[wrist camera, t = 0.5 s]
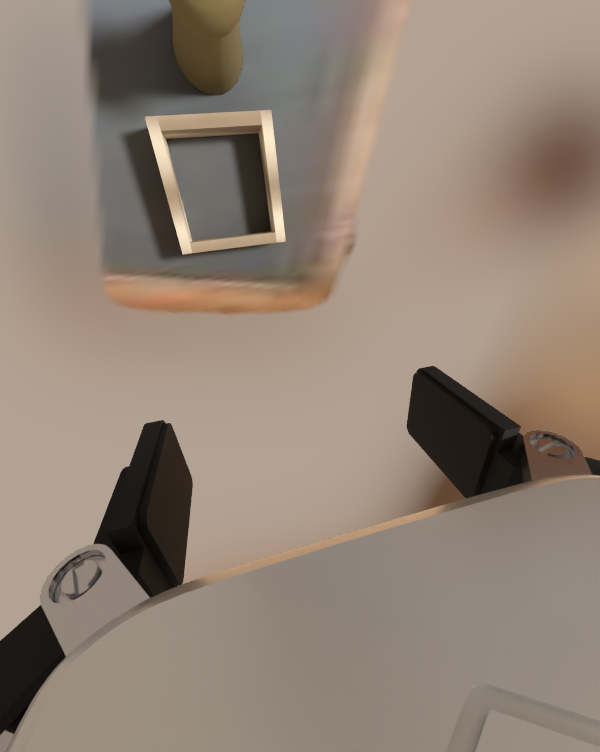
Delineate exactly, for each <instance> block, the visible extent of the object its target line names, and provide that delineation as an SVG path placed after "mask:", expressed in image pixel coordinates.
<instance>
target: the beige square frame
mask: <svg viewBox="0 0 600 752" xmlns="http://www.w3.org/2000/svg"><path fill="white" fill-rule="evenodd" d="M145 119H146V123H147V127H148V130H149V134H150V138H151V141H152V145H153V149H154V152H155V156H156V159H157V163H158V167H159V170H160V174H161V178H162V181H163V185H164V189H165V192H166V196H167V199H168V203H169V207H170V210H171V214H172V218H173V221H174V225H175V229H176V232H177V236H178V239H179V243H180V247H181V250H182V254H190V253H198V252H206V251H214V250H221V249H229V248H237V247H245V246H253V245H261V244H269V243H276V242H284V241H286V240H285V231H284V222H283V213H282V204H281V195H280V186H279V177H278V168H277V159H276V150H275V141H274V131H273V122H272V113H271V110H262V111H243V112H224V113H205V114H186V115H168V116H149V117H145ZM251 133H258V134H259V141H260V149H261V157H262V164H263V172H264V180H265V187H266V195H267V203H268V210H269V218H270V226H271V231H270V232H262V233H254V234H246V235H237V236H229V237H221V238H213V239H204V240H196V241H192V238H191V234H190V230H189V227H188V223H187V219H186V215H185V211H184V207H183V203H182V199H181V195H180V191H179V187H178V183H177V179H176V175H175V172H174V168H173V164H172V160H171V156H170V152H169V148H168V144H167V140H166V139H175V138H190V137H205V136H221V135H236V134H251Z"/></svg>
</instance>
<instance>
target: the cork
mask: <svg viewBox="0 0 600 752" xmlns="http://www.w3.org/2000/svg"><path fill="white" fill-rule="evenodd" d="M169 2H170V4H171V6H172V44H173V48H174V53H175V57H176V60H177V62H178V64H179V67H180V69H181V71H182V73H183V74H184V75H185V77H186V78H187V79H188V80H189V82H190V83H191V84H192V85H193V86H195V87H196V88H197V89H199V90H200V91H201V92H204V93H207V94H210V95H221V94H224V93H226V92H228V91H229V90H231V89H232V88H233V86H234V85H235V84H236V83H237V81H238V79H239V76H240V73H241V70H242V60H243V53H242V45H241V37H240V29H239V20H240V17H241V14H242V11H243V8H244V3H245V0H169Z"/></svg>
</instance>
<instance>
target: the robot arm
mask: <svg viewBox="0 0 600 752" xmlns="http://www.w3.org/2000/svg"><path fill="white" fill-rule="evenodd" d="M520 428H521V426H519V425H518V424H516V423H515V422H514V421H512V420H511V419H509V418H508V417H506V416H505V415H504V414H502V413H500V412H499V411H498V410H496V409H495V408H494V407H492V406H491V405H489V404H488V403H486V402H485V401H484V400H482V399H481V398H479V397H478V396H476V395H475V394H473V393H472V392H471V391H469V390H467V389H466V388H465V387H463V386H462V385H460V384H459V383H458V382H456V381H455V380H453V379H452V378H451V377H449V376H448V375H446V374H445V373H443V372H442V371H441V370H439V369H438V368H436V367H434V366H430V367H425V368H420V369H418V370H417V373H415V374H414V376H413V383H412V390H411V398H410V405H409V413H408V420H407V429H408V432H409V434H410V435H411V436H412V437H413V439H414V440H415V441H416V442H417V443H418V444H419V445H420V447H421V448H422V449H423V450H424V451H425V452H426V453H427V454H428V456H429V457H430V458H431V459H432V460H433V461H434V462H435V464H436V465H437V466H438V467H439V468H440V469H441V470H442V472H443V473H444V474H445V475H446V476H447V477H448V479H449V480H450V481H451V482H452V483H453V484H454V485H455V487H456V488H457V489H458V490H459V491H460V492H461V493H462V494H463V496H464V497H465V498H467V499H463V500H460V501H457V502H453V503H449V504H446V505H442V506H439V507H435V508H432V509H428V510H425V511H421V512H418V513H414V514H411V515H408V516H404V517H401V518H397V519H394V520H390V521H387V522H384V523H380V524H377V525H373V526H370V527H367V528H363V529H360V530H356V531H353V532H350V533H346V534H343V535H339V536H336V537H333V538H329V539H326V540H323V541H319V542H316V543H313V544H309V545H306V546H302V547H299V548H296V549H293V550H289V551H286V552H282V553H279V554H276V555H272V556H269V557H266V558H262V559H259V560H256V561H252V562H249V563H246V564H243V565H240V566H237V567H234V568H231V569H228V570H224V571H221V572H218V573H215V574H212V575H208V576H206V577H202V578H200V579H197V580H193V581H191V582H188V583H185V584H183V585H181V584H182V583H183V578H184V568H185V558H186V547H187V537H188V528H189V517H190V507H191V496H192V486H193V485H192V477H191V474H190V472H189V469H188V466H187V464H186V461H185V459H184V456H183V454H182V451H181V448H180V446H179V443H178V440H177V438H176V435H175V432H174V430H173V428H172V425H171V424H170V423H167V424H166V423H165V422H164V421H163V420H161V421H157V422H151V423H147V424H145V425H144V427H143V430H142V433H141V435H140V438H139V441H138V444H137V447H136V449H135V452H134V455H133V458H132V461H131V463H130V466H129V467H125V468H124V469H123V470H122V471H121V473H120V476H119V479H118V481H117V484H116V486H115V489H114V492H113V494H112V497H111V499H110V502H109V505H108V507H107V510H106V513H105V515H104V518H103V520H102V523H101V526H100V528H99V531H98V533H97V536H96V539H95V541H94V544H93V545H88V546H85V547H83V548H81V549H79V550H77V551H75V552H74V553H72V554H70V555H69V556H67V557H66V558H65V559H64V560H63V561H62V562H61V563H59V564H58V565H57V566H56V568H55V569H54V570H53V571H52V572H51V573H50V575H49V576H48V577H47V579H46V581H45V583H44V585H43V587H42V590H41V594H40V601H41V605H40V606H39V607H38V608H37V609H36V610H35V611H34V612H32V613H31V614H30V615H29V616H28V617H27V618H26V619H25V620H23V621H22V622H21V623H20V624H19V625H18V626H17V627H16V628H14V629H13V630H12V631H11V632H10V633H9V634H8V635H7V636H5V637H4V638H3V639H2V640H1V641H0V752H600V461H598V460H595V459H591V458H587V457H584V455H583V452H582V451H581V449H580V448H579V446H577V445H576V444H575V443H574V442H573V441H571V440H570V439H568V438H566V437H564V436H562V435H559V434H557V433H554V432H550V431H545V430H544V431H543V430H531V431H529V432H526V434H524V436H523V435H521V434H520V433H519V430H520ZM178 585H180V586H178Z"/></svg>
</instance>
